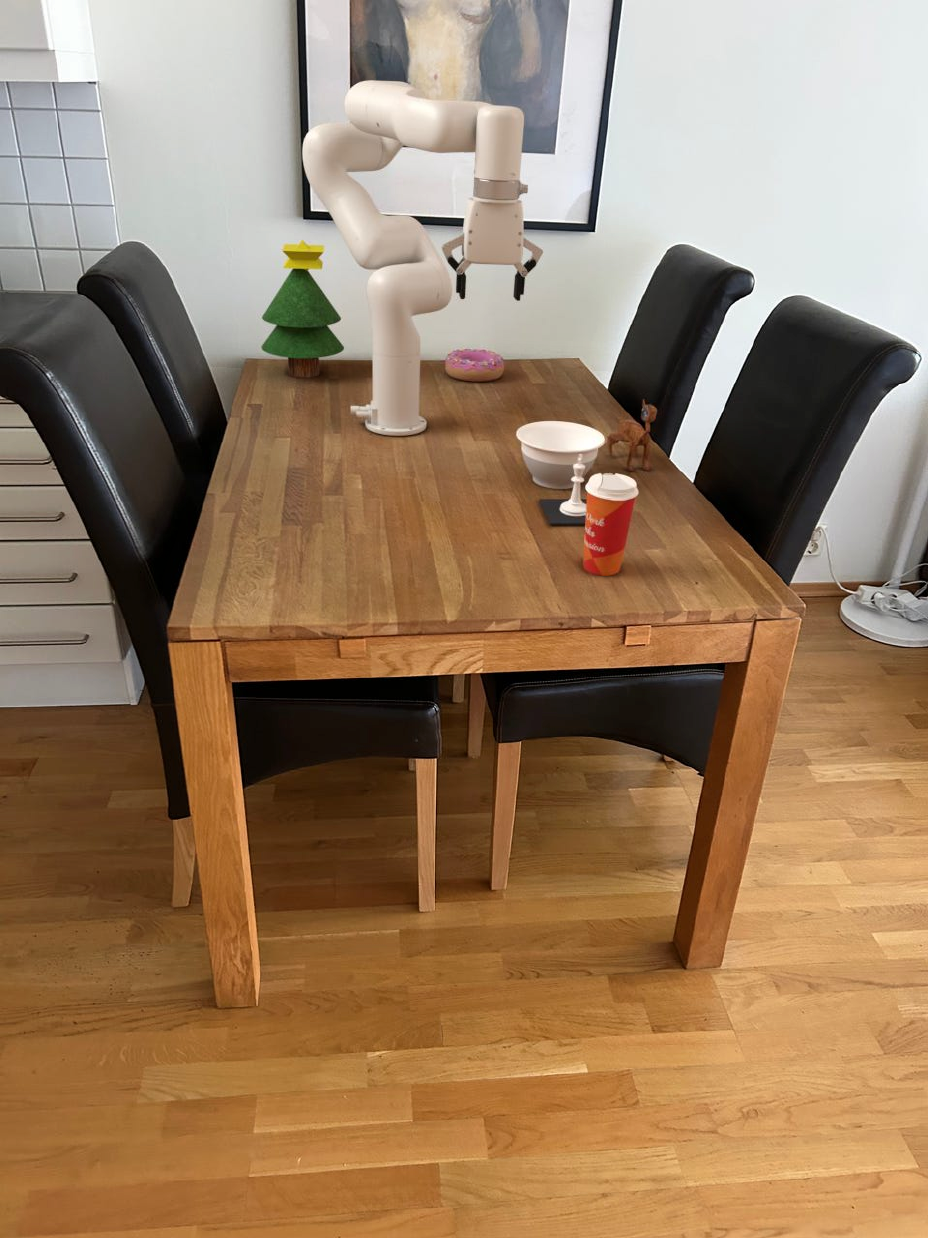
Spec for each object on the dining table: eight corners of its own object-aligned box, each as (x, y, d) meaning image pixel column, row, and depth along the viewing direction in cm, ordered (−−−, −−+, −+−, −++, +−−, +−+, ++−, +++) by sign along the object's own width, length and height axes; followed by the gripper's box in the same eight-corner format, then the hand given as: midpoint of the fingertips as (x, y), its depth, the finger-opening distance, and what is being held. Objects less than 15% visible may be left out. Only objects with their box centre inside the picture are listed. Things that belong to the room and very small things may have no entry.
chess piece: (591, 507, 160) (598, 452, 155) (585, 518, 156) (591, 461, 151) (563, 502, 162) (569, 447, 156) (556, 513, 158) (562, 457, 152)
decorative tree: (266, 361, 230) (258, 231, 215) (344, 362, 233) (342, 233, 217) (260, 384, 214) (250, 245, 199) (344, 385, 216) (341, 247, 201)
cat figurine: (592, 443, 190) (600, 376, 183) (622, 441, 191) (631, 375, 185) (628, 476, 175) (638, 404, 168) (660, 474, 177) (672, 403, 170)
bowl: (576, 504, 162) (581, 457, 158) (497, 482, 169) (500, 437, 165) (613, 477, 174) (619, 433, 170) (538, 457, 181) (542, 414, 177)
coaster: (550, 526, 154) (550, 523, 154) (539, 501, 163) (539, 499, 163) (609, 525, 155) (609, 522, 155) (595, 501, 164) (595, 498, 164)
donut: (503, 385, 222) (505, 364, 220) (443, 382, 222) (444, 361, 219) (502, 368, 235) (503, 348, 232) (445, 365, 234) (446, 345, 232)
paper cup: (571, 555, 145) (581, 470, 138) (620, 555, 146) (632, 471, 139) (581, 579, 138) (592, 491, 131) (632, 579, 139) (645, 492, 132)
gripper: (543, 190, 158) (534, 294, 167) (441, 185, 156) (438, 292, 165) (551, 195, 152) (542, 304, 161) (446, 191, 150) (441, 301, 158)
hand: (489, 298), depth 163 cm, fingers open, 9 cm apart
